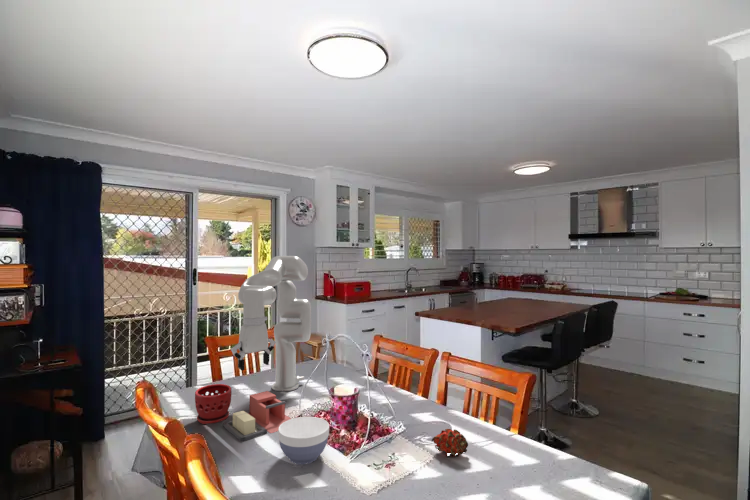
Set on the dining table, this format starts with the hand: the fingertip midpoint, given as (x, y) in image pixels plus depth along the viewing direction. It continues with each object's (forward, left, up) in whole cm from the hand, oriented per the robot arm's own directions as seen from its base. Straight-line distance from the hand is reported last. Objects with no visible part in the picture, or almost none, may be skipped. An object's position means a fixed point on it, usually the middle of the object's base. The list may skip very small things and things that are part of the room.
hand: (254, 366), depth 149 cm
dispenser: (-7, +1, -22) cm, 23 cm away
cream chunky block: (+5, +2, -21) cm, 22 cm away
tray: (+5, +3, -22) cm, 23 cm away
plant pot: (+9, -15, -22) cm, 28 cm away
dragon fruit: (-38, +62, -22) cm, 76 cm away
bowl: (-2, +32, -22) cm, 39 cm away
